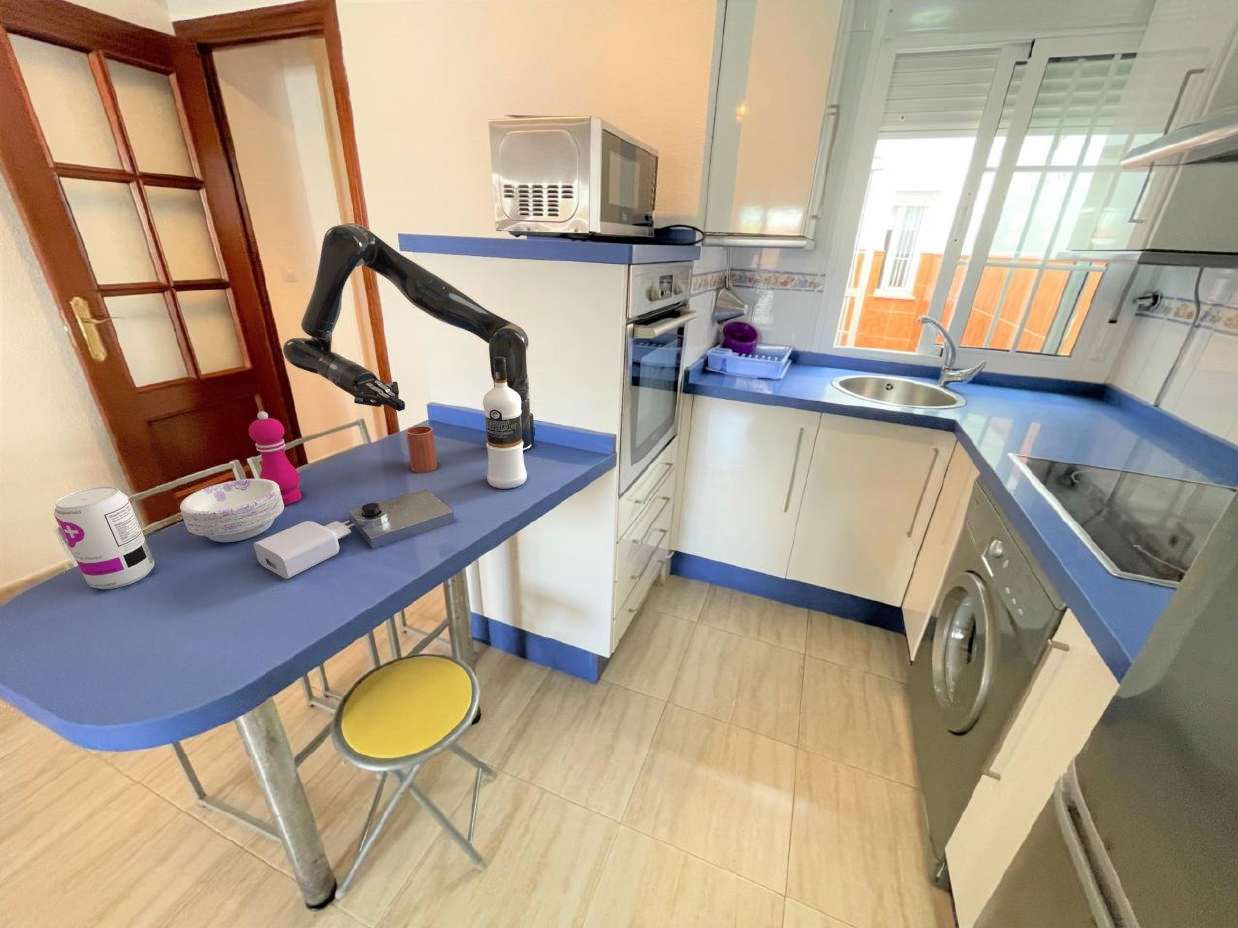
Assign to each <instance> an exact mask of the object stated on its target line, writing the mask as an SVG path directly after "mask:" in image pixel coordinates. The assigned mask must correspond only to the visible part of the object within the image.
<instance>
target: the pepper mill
mask: <svg viewBox="0 0 1238 928" xmlns="http://www.w3.org/2000/svg"><path fill="white" fill-rule="evenodd" d="M256 417H257V419H255V420H254V421H252V422H251V424H250V425H249V427H248V435H249V437H250V438H251V440H252V441H254V442H255V444H254V445H255V447H256V451H258V452H259V453H260V456H261V461H262V462H261V470H260V475H259V479H266V480H271V481H274V482H275V483H277V484H278V486H279V489H280V492H281V496H282V500H283V504H284V506H288V505H291V504H294V503H296V502H298V501H299V500H301V499H302V496H303V495H302V490H301V488H300V487H299V485H300V483H301V477H300V474H299V472H298V471H297V469H296V468H295V467H294V465H293V464H292V463H291V462H290V461H289V459H288V457H287V455H286V453H285V447H286V443H285V439H284V438H283V437H284V435H285V428H284V425H283V424H282V422H281V421H280V420H278V419H276V418H273V417H269V414H268V413H267V412H266V411H259V412H258V413H257V416H256Z"/></svg>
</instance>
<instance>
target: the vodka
mask: <svg viewBox="0 0 1238 928" xmlns="http://www.w3.org/2000/svg"><path fill="white" fill-rule="evenodd" d="M493 360H494V374H495V387H494V386H493V388H491V389H490V390H489V391H487V392H486V393H485V394H484V396H483V399H482V406H483V415H484V419H485V420H484V421H485V433H486V450H487V459H488V460H487V461H488V463H487V473H486V480H487V482H488V484H489V485H490V486H492V487H493V488H496V489H500V490H510V489H515V488H518V487H520V486H522V485H524V483H526V481H527V479H528V476H527V470H526V465H525V459H524V451H523V441H522V428H521V412H522V411H521V398H520V396H519V394H518V393H517V392H515V391H514V390H512V389H511V388H509V387H508V386H507V377H506V363H505V361H506V360H505V357H494V358H493Z"/></svg>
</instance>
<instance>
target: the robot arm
mask: <svg viewBox="0 0 1238 928" xmlns="http://www.w3.org/2000/svg"><path fill="white" fill-rule="evenodd" d="M361 266H363V267H365V268H368V269H369V270H371V271H373V272H375V273H377V274H379V275H380V276H382V277H383V278H385V279H387V280H388V281H389V282H391V283H392V284H393V285H394V287H396V289H397V290H398V291H399V292H400V293H401V295H403V297H404V298H405V299H407V301H408V302H409V303H411V304H412V305H413V306H414V307H416V309H417V308H418V309H419V310H420V311H423V312H424V313H426V314H427V315H429V316H431V317H432V318H434V319H436V320H437V321H440V322H442V323H443V324H447V325H449V326H453V327H455V328H457V329H461V330H464V331H466V332H469V333H471V334H473V335H475V336H476V337H477V338H479V339H481V340H483V341H484V342H485V343H486V344H488V353H489V354H488V355H489V356H488V357H489V366H490V375H491V379H492V383H493V388H494V387H495V374H494V360H493V358H494V357H505V360H506V361H505V363H506V377H507V386H508V387H509V388H511V389H512V390H514V391H515V392H517V393H518V394H519V396H520V398H521V411H522V412H521V428H522V441H523V452H527V451H529V450H530V449H532V448H533V447H535V446H536V445H535V436H536V427H535V424H534V414H533V413H532V412H531V401H530V378H529V375H528V365H527V363H528V362H527V351H528V349H529V343H530V342H529V337H528V334H527V332H525V330H524V329H523V328H522V327H521V326H519V325H517V324H516V323H514V322H512V321H509V320H508V319H505V318H503V317H501V316H499V315H498V314H496V313H494V312H491V311H490V310H489V309H486V308H485V307H484V306H482V305H481V304H479V303H478V302H476V301H475V300H474V299H472V298H471V297H470V296H468V295H467V294H465V293H464V292H463V291H461V290H459V289H458V288H457V287H455V286H453V285H452V284H451V283H449V282H447V280H445V279H443V278H441V277H440V276H438V275H436V274H435V273H433V272H431V271H429V270H428V269H426V268H425V267H423V266H421V265H420V264H418V263H416V262H415V261H413V260H412V259H410V258H408V257H406V256H405V255H403V254H401V253H400V252H398V251H397V250H396V249H394V248H393V247H392V246H390V245H389V244H388V243H386V241H384V240H382V239H381V238H380V237H379V236H378V235H376V234H375V233H374V232H372V231H371V230H369V229H368V228H367V227H365V226H363V225H361V224H358V223H352V222H350V223H344V224H337V225H334V226H331V227H329V229H328V230H327V231H326V232H325V233H324V235H323V240H322V245H321V251H320V258H319V263H318V268H317V274H316V277H315V278H316V279H315V282H314V285H313V290H312V293H311V295H310V298H309V301H308V304H307V306H306V309H305V311H304V314H303V317H302V319H301V323H300V327H301V330H302V331H303V333H305V334H306V335H307V336H309V337H293V338H292V337H291V338H290V339H287V340H286V341H285V342H284V343H283V345H282V353H283V356H284V358H285V359H286V360H287V362H288V363H289V364H291V365H292V366H294V367H296V368H298V369H300V370H303V371H306V372H310V373H312V374H315V375H319V376H321V377H323V378H324V379H326V380H327V381H330V382H331V383H332V384H333V385H335V386H336V387H338V388H339V389H340V390H342V391H344V392H345V393H348V395H351V396H353V403H354V404H358V405H363V406H370V407H376V408H381V407H382V406H385V407H389V408H391V409H393V410H395V411H397V412H402V411H405V409H406V401H404V400H403V399H401V398H399V397H400V396H399V395H400V389H399V384H398V382H397V381H392V382H391V383H387V382H385V381H384V380H381V379H379V378H378V377H377V376H376V374H375V373H374V372H372V371H371V370H369V369H367V368H366V367H364V366H362V365H360V364H358V363H357V362H356V361H353V360H351V359H348V358H346V357H344V356H342V355H341V354H339V353H337V352H335V351H332V346H333V345H332V343H333V342H332V341H333V332H334V330H335V328H336V326H337V323H338V321H339V318H340V315H341V312H342V307H343V306H342V305H343V292H344V289H345V286H346V284H347V281H348V279H349V277H350V276H351V275H352V273H353V271H354V270H355V269H356V268H358V267H361Z"/></svg>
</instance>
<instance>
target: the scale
mask: <svg viewBox="0 0 1238 928" xmlns="http://www.w3.org/2000/svg"><path fill="white" fill-rule="evenodd" d="M376 503H377V504H378V505H379V509H380V514H379V515H377V516H374V517H368V518H366V517H364V516H363V512H362V507H359V508H355V509H351V510H349V511H348V513H349V518H350V522H351V524H353V523H355V525H354V526H353V527H355V528H356V530H357V531H358V532H359V533H360V535H361V536H362V537H363V539H364V540H365V541H366V542H367V544H368V545H369V546H370V547H371V549H372V550H374V549H377V548H380V547H383V546H386V545H388V544H391V543H395V542H398V541H400V540H403V539H406V538H408V537H412V536H415V535H418V534H421V533H423V532H427V531H429V530H432V529H435V528H438V527H441V526H445V525H448V524H450V523H453V522H455V516H454V511H453V510H452V509H451V508H450V507H449V506H448V505H446V504H445V503H444V502H443V501H442V500H441V499H439V498H438V497H437V496H436V495H435V494H433V492H431V490H429V489H428V488H425V489H422V490H418V491H414V492H411V493H408V494H404V495H400V496H397V497H394V498H390V499H387V500H383V501H379V502H376Z"/></svg>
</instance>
